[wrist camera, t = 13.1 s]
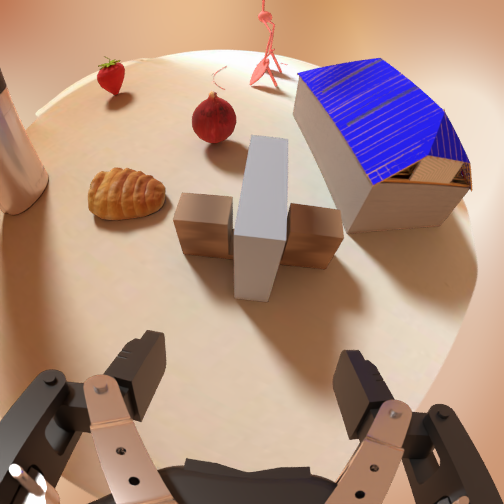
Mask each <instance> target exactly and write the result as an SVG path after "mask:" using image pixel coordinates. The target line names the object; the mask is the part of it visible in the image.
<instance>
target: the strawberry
mask: <svg viewBox="0 0 504 504" xmlns="http://www.w3.org/2000/svg"><path fill="white" fill-rule="evenodd" d="M119 61H120V60H118V61H114V60H112V61H109V63H105V64H102V65H99V66H103V67H102V68H101V69H100V71H99V73H98V75H97V81H98V83H99V84H100V86H101V87H102V88H104V89H105V90H107V91H108V92H110V93H112V94H113V95H117V94H118V93H119V90H120V88H121V85H122V83H123V79H124V74H125V69H124V66H123V65H122V64H121V63H117V62H119ZM99 66H98V67H99Z"/></svg>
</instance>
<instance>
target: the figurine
mask: <svg viewBox="0 0 504 504" xmlns="http://www.w3.org/2000/svg"><path fill="white" fill-rule="evenodd" d="M264 4H265V0H262V12H261V13H260V14H259V15H258V18H259V20H260V21H261V22H263V23H264V24H265V25H266V27H267V28H268V30H269V32H270V33H271V34H270V37H269V41H268V45H267V49H266V53H265V57H264V59H263V60H262V61H261V62H260V63H259V64H258V65H257V67H256V68H255V70H254V72H253V74H252V77H251V80H250V85H252V84H254V83H255V82H256V81H258V80H259V79H260V78H261V77H262V76H263V75H264V73H265V72H266V70H267V71H268V73H269V75H270V77H271V79H272V81H273V83H274V85H275V86H278V85H277V83H276V81H275V79H274V77H273V75H272V73H271V70H270V68H269V66H268V65H269V59H267V57H268V56H269V55H270V54H271V55H272V57H273V59H274V61H275V63H276V65H277V68H278V70H279V72H280V73H281V72H282V71H281V68H280V66H279V64H278V62H277V60H276V58H275V56H274V54H273V51H274V50H275V49H273V50H271V48H272V41H273V34H274V28H275V25H274V23H272V22H271V20H272V15H271V13H269V12H267V11H264V6H265V5H264ZM267 22H270V23H271V24H273V29H272V32H271V30H270V28H269V27H268V25H267V24H266V23H267ZM270 42H271V45H270ZM269 45H270V51H269V54H268V55H267V53H268V49H269ZM281 64H282V63H281ZM285 65H287V64H285ZM226 67H227V66H226ZM224 68H225V67H224ZM222 69H223V68H222ZM220 70H221V69H220ZM217 72H218V71H217ZM217 72H216V73H217ZM216 73H215V74H216ZM213 74H214V73H213ZM213 74H212V75H213ZM215 84H216V83H215ZM216 85H217V84H216ZM217 86H218V85H217ZM220 88H221V87H220ZM222 89H223V88H222ZM224 90H225V89H224Z"/></svg>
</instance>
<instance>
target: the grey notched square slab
mask: <svg viewBox="0 0 504 504" xmlns="http://www.w3.org/2000/svg"><path fill="white" fill-rule="evenodd" d="M287 191H288V139H283V138H275V137H266V136H257V135H251V140H250V145H249V151H248V156H247V161H246V167H245V172H244V178H243V184H242V189H241V195H240V201H239V206H238V212H237V218H236V224H235V230H234V298H236V299H244V300H253V301H262V302H268V299H269V296H270V293H271V290H272V286H273V283H274V280H275V277H276V273H277V270H278V266H279V263H280V260H281V256H282V253H283V250H284V246H285V243H286V228H287Z"/></svg>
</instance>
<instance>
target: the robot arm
mask: <svg viewBox="0 0 504 504" xmlns="http://www.w3.org/2000/svg"><path fill="white" fill-rule="evenodd" d="M47 182H48V174H47V172H46V170H45V168H44V166H43V165H42V163H41V161H40V159H39V157H38V155H37V153H36V151H35V149H34V147H33V145H32V143H31V141H30V139H29V137H28V135H27V133H26V131H25V129H24V127H23V125H22V123H21V120H20V118H19V116H18V113H17V111H16V109H15V106H14V104H13V102H12V99H11V96H10V94H9V91H8V88H7V86H6V83H5V80H4V78H3V75H2V72H1V69H0V210H1V211H2V212H3V213H6V212H8V213H9V214H11V215H16V214H19V213H21V212H23V211H25V210H26V209H27V208H29V207H30V206H31V205H32V204H33V203H34V202H35V201H36V200H37V199H38V198H39V197H40V195H41V194H42V193H43V191H44V189H45V187H46V185H47ZM165 368H166V351H165V337H164V333H161V332H155V331H150V330H147V331H146V332H145V333H144V335H143V336H142V338H141V339H136V338H135V339H133V340H132V341H130V342H128V343H127V344H126V345H125V346H124V348H123V349H122V351H121V352H120V353H119V354H118V357H116V358H115V359H114V361H113V362H112V363H111V365H110V366H109V367H108V369H107V370H106V371H105V373H104V374H103V375H95V376H92V377H90V378H88V379H87V380H86V381H85V383H74V382H67V381H66V378H65V376H64V374H63V373H62V372H60V371H58V370H46V371H43V372H41V373H40V374H39V375H38V376H37V377H36V378H35V379H34V380H33V382H32V383H31V384H30V385H29V386H28V388H27V389H26V390H25V391H24V392H23V394H22V395H21V396H20V397H19V398H18V400H17V401H16V402H15V403H14V405H13V406H12V407H11V408H10V410H9V411H8V412H7V413H6V415H5V416H4V417H3V419H2V420H1V421H0V504H60V498H59V495H58V493H57V491H56V490H55V487H56V485H57V483H58V481H59V478H60V476H61V474H62V472H63V470H64V468H65V466H66V464H67V462H68V460H69V458H70V456H71V454H72V452H73V450H74V448H75V446H76V444H77V442H78V440H79V438H80V436H81V434H82V432H89V433H91V434H92V437H93V441H94V444H95V448H96V451H97V454H98V457H99V460H100V463H101V466H102V469H103V472H104V475H105V477H106V480H107V483H108V485H109V488H110V490H111V494H109V495H107V496H105V497H103V498H100V499H98V500H96V501H93V502H91V503H89V504H382V502H383V500H384V498H385V495H386V494H387V492H388V489H389V487H390V485H391V483H392V480H393V478H394V476H395V474H396V471H397V469H398V466H399V464H400V461H401V459H402V462H403V465H404V468H405V471H406V474H407V476H408V480H409V483H410V486H411V489H412V493H413V496H414V499H415V502H416V504H503V502H502V499H501V497H500V495H499V493H498V490H497V488H496V486H495V484H494V482H493V480H492V478H491V476H490V474H489V472H488V470H487V468H486V466H485V464H484V462H483V460H482V458H481V457H480V455H479V453H478V451H477V449H476V447H475V446H474V444H473V442H472V440H471V439H470V437H469V435H468V433H467V432H466V430H465V428H464V427H463V425H462V423H461V422H460V420H459V418H458V417H457V416H456V414H455V412H454V411H453V409H452V408H450V407H449V406H447V405H444V404H435V405H433V406H432V407H431V408H430V409H429V411H428V412H427V413H419V412H412V411H411V409H410V407H409V406H408V405H407V404H406V403H404V402H402V401H399V400H395V399H394V398H393V396H392V394H391V392H390V390H389V389H388V387H387V385H386V383H385V381H383V378H382V376H381V375H380V373H379V371H378V369H377V367H376V366H375V365H374V364H372V363H371V362H370V361H369V360H365V359H364V358H363V356H362V354H361V352H360V351H359V350H343V351H342V352H341V355H340V358H339V361H338V364H337V367H336V371H335V374H334V377H333V389H334V392H335V395H336V398H337V402H338V405H339V408H340V411H341V414H342V417H343V421H344V424H345V427H346V430H347V434H348V437H349V440H352V439H359V441H360V443H359V445H358V447H357V448H356V450H355V452H354V453H353V455H352V457H351V458H350V460H349V462H348V463H347V465H346V466H345V468H344V469H343V471H342V473H341V474H340V476H339V477H338V478H337V480H336V481H335V482H333V481H331V480H329V479H327V478H324V477H321V476H317V475H312V474H311V473H310V467H280V468H274V469H269V470H263V471H256V472H244V471H240V470H237V469H233V468H230V467H227V466H224V465H221V464H218V463H212V462H205V461H199V460H193V459H188V458H186V461H185V465H184V466H172V467H166V468H163V469H159V470H157V469H156V468H155V466H154V464H153V462H152V460H151V458H150V456H149V454H148V452H147V450H146V448H145V446H144V444H143V442H142V440H141V438H140V435H139V433H138V431H137V429H136V426H135V424H134V422H133V420H136V421H139V422H142V420H143V417H144V415H145V413H146V411H147V409H148V406H149V404H150V402H151V400H152V398H153V396H154V394H155V391H156V389H157V387H158V385H159V383H160V381H161V379H162V377H163V374H164V372H165ZM434 448H435V449H436V451H437V453H438V456H439V458H440V466H439V465H438V463H437V460H436V458H435V456H434V454H433V450H434Z"/></svg>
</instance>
